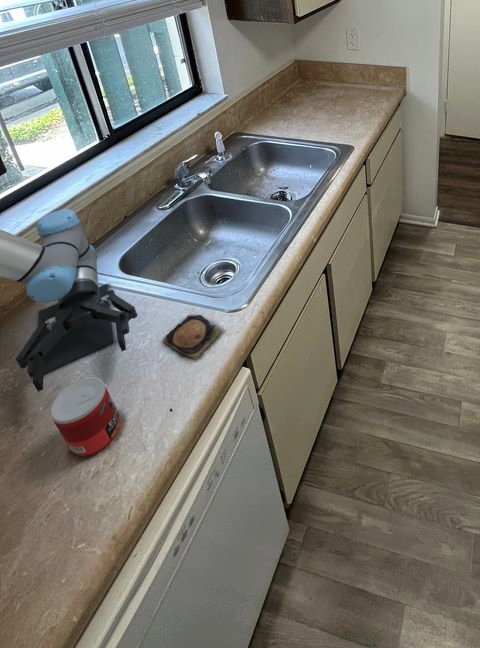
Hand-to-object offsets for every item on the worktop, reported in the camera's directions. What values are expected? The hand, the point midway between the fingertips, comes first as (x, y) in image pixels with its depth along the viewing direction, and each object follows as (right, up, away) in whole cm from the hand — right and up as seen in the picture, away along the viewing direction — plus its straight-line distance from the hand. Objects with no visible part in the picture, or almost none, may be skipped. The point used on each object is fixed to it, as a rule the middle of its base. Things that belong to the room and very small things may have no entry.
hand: (81, 365), depth 84 cm
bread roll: (+14, -2, +15) cm, 21 cm away
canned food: (+5, -11, -3) cm, 13 cm away
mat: (-14, -1, +18) cm, 23 cm away
